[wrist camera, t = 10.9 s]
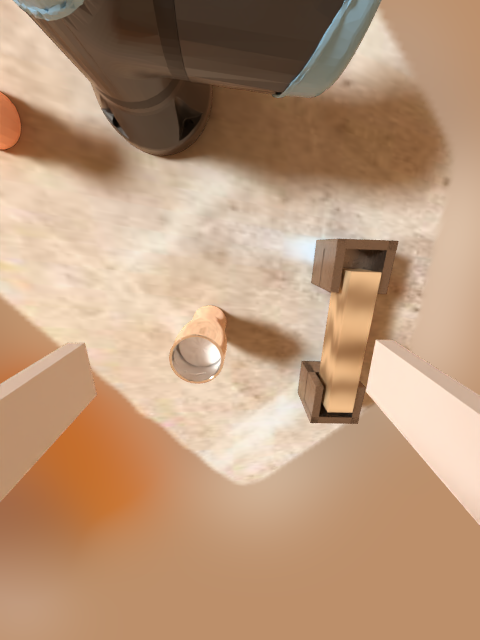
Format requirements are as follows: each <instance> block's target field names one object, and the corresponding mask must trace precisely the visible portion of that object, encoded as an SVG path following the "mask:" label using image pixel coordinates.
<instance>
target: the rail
mask: <svg viewBox="0 0 480 640" xmlns="http://www.w3.org/2000/svg"><path fill="white" fill-rule="evenodd" d="M381 274H382V273H381V272H376V271H371V270H366V269H359V268H343V269H342V275H341V281H340V288H339V293H337V292H331V298H330V304H329V311H328V318H327V324H326V331H325V338H324V344H323V351H322V358H321V364H320V371H319V380H320V381H321V383H322V385H323V386H324V388H323V394H322V400H321V401H322V403H323V405H324V407H325V408H326V410H327V412H345V413H352V412H353V408H354V403H355V398H356V393H357V388H358V384H359V379H360V374H361V369H362V365H363V360H364V355H365V350H366V345H367V341H368V336H369V331H370V326H371V322H372V317H373V312H374V307H375V303H376V298H377V293H378V288H379V283H380V279H381Z"/></svg>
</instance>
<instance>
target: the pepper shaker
mask: <svg viewBox="0 0 480 640" xmlns="http://www.w3.org/2000/svg"><path fill="white" fill-rule="evenodd" d="M20 134H21V122H20V118H19V114H18V112H17V110H16V108H15V106H14V105H13V103H12V102H11V101H10V100H9V98H8V97H7V96H5V95H4V94H3V93H1V92H0V149H8V148H10V147H12V146H13V145H15V144H16V143H17V141H18V139H19V137H20Z"/></svg>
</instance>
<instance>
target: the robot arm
mask: <svg viewBox="0 0 480 640" xmlns="http://www.w3.org/2000/svg"><path fill="white" fill-rule="evenodd" d="M13 1H14V2H15V3H16V4H17V5H18V6H19V7H20V8H21V9H22V10H23V11H25V12H26V13H27V14H28V15H29V16H30V17H31V18H32V19H33V21H34V22H35V23H36V24H37V25H38V26H39V27H40V28H41V29H42V30H43V31H44V32H45V33H46V35H47V36H48V37H49V38H50V39H51V40H52V41H53V42H54V43H55V44H56V45H57V46H58V48H59V49H60V50H61V51H62V52H63V53H64V54H65V55H66V56H67V57H68V58H69V59H70V60H71V62H72V63H73V64H74V65H75V66H76V67H77V68H78V69H79V70H80V71H81V72H82V73H83V74H84V76H85V77H86V78H87V79H88V80H89V81H90V82H91V84H92V87H93V90H94V92H95V95H96V97H97V100H98V102H99V105H100V107H101V109H102V111H103V113H104V114H105V116H106V118H107V119H108V121H109V122H110V123H111V125H112V126H113V127H114V128H115V129H116V131H117V132H118V133H119V134H120V135H121V136H123V137H124V138H125V139H126V140H127V141H128V142H129V143H130V144H132V145H133V146H135V147H136V148H138V149H140V150H142V151H144V152H147V153H150V154H154V155H171V154H175V153H178V152H180V151H183V150H184V149H186V148H187V147H189V146H190V145H191V144H193V143H194V142H195V141H196V139H197V138H198V137H199V136H200V134H201V133H202V131H203V129H204V128H205V126H206V123H207V121H208V118H209V114H210V110H211V104H212V85H215V86H221V87H228V88H235V89H241V90H248V91H254V92H261V93H268V94H272V96H273V97H275V98H282V97H284V96H295V97H306V98H311V97H316V96H318V95H320V94H321V93H323V92H324V91H325V90H326V89H328V88H330V87H331V86H332V85H333V84H334V83H335V82H336V80H337V79H338V78H339V77H340V75H341V74H342V73H343V71H344V70H345V68H346V67H347V65H348V64H349V62H350V60H351V59H352V57H353V55H354V54H355V52H356V50H357V49H358V47H359V45H360V43H361V41H362V39H363V37H364V35H365V34H366V32H367V30H368V28H369V26H370V23H371V21H372V19H373V17H374V15H375V13H376V11H377V9H378V7H379V4H380V2H381V0H13ZM366 392H367V393H368V395H369V396H370V397H371V398H372V399H373V401H374V402H375V403H376V404H377V405H378V406H379V407H380V409H381V410H382V411H383V412H384V413H385V415H386V416H387V417H388V418H389V419H390V420H391V422H392V423H393V424H394V425H395V426H396V428H397V429H398V430H399V431H400V432H401V433H402V435H403V436H404V437H405V438H406V439H407V441H408V442H409V443H410V444H411V445H412V446H413V448H414V449H415V450H416V451H417V452H418V453H419V455H420V456H421V457H422V458H423V459H424V460H425V462H426V463H427V464H428V465H429V466H430V468H431V469H432V470H433V471H434V472H435V473H436V474H437V476H438V477H439V478H440V479H441V481H442V482H443V483H444V484H445V485H446V486H447V488H448V489H449V490H450V491H451V492H452V493H453V495H454V496H455V497H456V498H457V499H458V501H459V502H460V503H461V504H462V505H463V506H464V508H465V509H466V510H467V511H468V512H469V513H470V514H471V516H472V517H473V518H474V519H475V520H476V522H477V523H478V524H479V525H480V395H478V394H476V393H475V392H473V391H472V390H470V389H469V388H467V387H465V386H464V385H462V384H461V383H459V382H458V381H456V380H455V379H453V378H452V377H450V376H448V375H447V374H445V373H444V372H442V371H441V370H439V369H437V368H436V367H434V366H433V365H431V364H430V363H428V362H426V361H425V360H423V359H422V358H420V357H419V356H417V355H416V354H414V353H413V352H411V351H410V350H408V349H406V348H405V347H403V346H402V345H400V344H399V343H397V342H395V341H394V340H376V341H375V346H374V352H373V357H372V362H371V367H370V372H369V377H368V383H367V388H366ZM96 395H97V393H96V389H95V384H94V380H93V376H92V372H91V367H90V363H89V359H88V354H87V350H86V346H85V343H67V344H65V345H63V346H62V347H60V348H58V349H57V350H55V351H54V352H52V353H50V354H49V355H47V356H45V357H44V358H42V359H40V360H39V361H37V362H36V363H34V364H32V365H31V366H29V367H27V368H26V369H24V370H22V371H21V372H19V373H17V374H16V375H14V376H13V377H11V378H9V379H8V380H6V381H4V382H3V383H1V384H0V502H1V501H2V500H3V498H4V497H5V496H6V495H7V494H8V493H9V492H10V491H11V490H12V488H13V487H14V486H15V485H16V484H17V483H18V482H19V481H20V480H21V478H22V477H23V476H24V475H25V474H26V473H27V472H28V471H29V470H30V469H31V467H32V466H33V465H34V464H35V463H36V462H37V461H38V460H39V459H40V457H41V456H42V455H43V454H44V453H45V452H46V451H47V450H48V448H49V447H50V446H51V445H52V444H53V443H54V442H55V441H56V440H57V439H58V437H59V436H60V435H61V434H62V433H63V432H64V431H65V430H66V429H67V427H68V426H69V425H70V424H71V423H72V422H73V421H74V420H75V418H76V417H77V416H78V415H79V414H80V413H81V412H82V411H83V410H84V409H85V407H86V406H87V405H88V404H89V403H90V402H91V401H92V400H93V399H94V398H95V396H96Z"/></svg>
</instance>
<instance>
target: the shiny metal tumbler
mask: <svg viewBox="0 0 480 640" xmlns="http://www.w3.org/2000/svg"><path fill="white" fill-rule="evenodd" d="M226 324H227V320H226V316H225V314H224V313H223V311H222V310H221V309H219V308H218V307H215V306H211V305H207V306H203V307H201V308H199V309H198V310H197V311H196V312H195V314H194V316H193V320H191V321H190V322H189V323H187V324H186V325H185V326H184V327H183V328H182V330H181V331H180V332H179V334H178V336H177V337H176V339H175V342H174V344H173V346H172V348H171V351H170V355H169V361H170V365H171V368H172V370H173V371H174V373H175V374H176V375H177V376H178V377H180V378H181V379H183V380H185V381H187V382H190V383H205V382H208V381H211V380H212V379H214V378H215V377H216V376H217V375H218V374H219V373H220V372H221V370H222V367H223V363H224V359H225V355H226V350H227V339H226V334H225V331H224V330H225V328H226Z"/></svg>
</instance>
